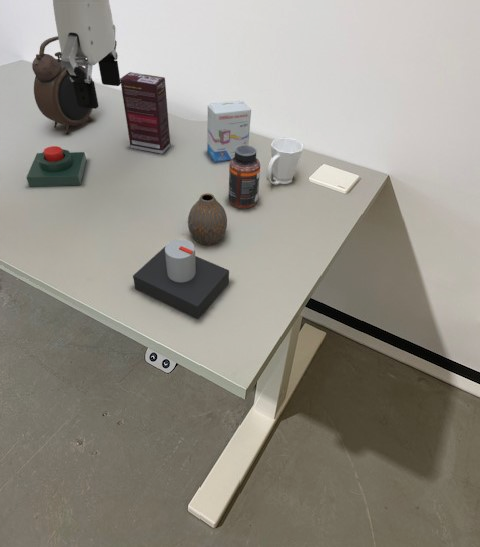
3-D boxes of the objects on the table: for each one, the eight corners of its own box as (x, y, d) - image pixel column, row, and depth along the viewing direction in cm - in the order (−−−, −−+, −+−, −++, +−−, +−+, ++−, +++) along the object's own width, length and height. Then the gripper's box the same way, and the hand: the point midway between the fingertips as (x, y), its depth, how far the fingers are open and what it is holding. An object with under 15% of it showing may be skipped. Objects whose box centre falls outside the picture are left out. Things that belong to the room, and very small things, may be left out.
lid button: (44, 162, 86) (41, 154, 84) (47, 154, 88) (45, 146, 87) (62, 162, 86) (60, 154, 85) (65, 153, 89) (63, 145, 87)
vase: (191, 252, 73) (190, 211, 67) (186, 228, 78) (184, 187, 72) (230, 247, 75) (231, 206, 69) (222, 224, 80) (223, 184, 73)
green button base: (29, 186, 86) (23, 169, 83) (39, 162, 93) (34, 145, 90) (80, 185, 87) (76, 168, 84) (86, 161, 94) (82, 144, 91)
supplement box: (171, 145, 101) (166, 76, 90) (162, 154, 97) (156, 84, 86) (138, 139, 102) (129, 70, 91) (129, 148, 99) (118, 78, 88)
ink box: (214, 163, 96) (214, 112, 87) (207, 153, 99) (206, 103, 91) (248, 157, 98) (251, 108, 90) (240, 148, 102) (243, 99, 93)
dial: (161, 275, 65) (158, 249, 61) (178, 259, 67) (176, 233, 64) (185, 286, 63) (183, 260, 59) (201, 269, 66) (200, 243, 62)
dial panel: (135, 289, 66) (132, 275, 64) (169, 257, 72) (167, 243, 70) (198, 319, 63) (197, 306, 60) (228, 283, 68) (229, 270, 66)
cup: (304, 178, 93) (310, 144, 87) (280, 197, 87) (284, 162, 81) (278, 167, 96) (282, 133, 90) (252, 185, 90) (255, 150, 84)
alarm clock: (66, 140, 100) (42, 49, 86) (42, 133, 102) (16, 43, 88) (105, 118, 110) (89, 33, 96) (83, 112, 112) (65, 27, 98)
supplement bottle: (263, 203, 85) (268, 152, 77) (241, 213, 82) (245, 161, 74) (243, 190, 88) (247, 139, 80) (222, 199, 85) (223, 148, 77)
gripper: (78, -42, 64) (99, 75, 76) (18, -22, 52) (54, 114, 63) (125, -38, 63) (139, 79, 75) (76, -17, 51) (102, 120, 63)
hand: (100, 95), depth 69 cm, fingers open, 9 cm apart
